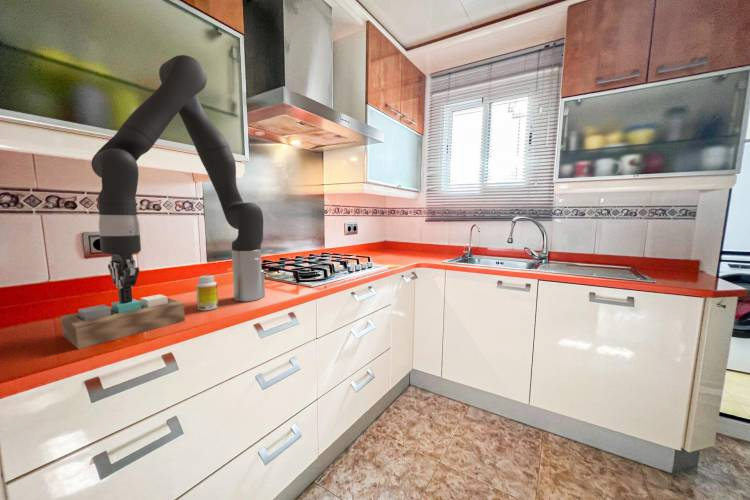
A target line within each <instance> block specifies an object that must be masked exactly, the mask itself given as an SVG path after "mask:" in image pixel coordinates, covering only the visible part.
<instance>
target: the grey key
mask: <svg viewBox="0 0 750 500" xmlns="http://www.w3.org/2000/svg"><path fill="white" fill-rule="evenodd" d="M110 307H111V306H108V305H106V304H99V305H94V306H89V307H83V308H78V313H79V319H81V320H82V321H86V320H91V319H96V318H100V317H105V316H110V315H111V309H110Z"/></svg>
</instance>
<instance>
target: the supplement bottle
mask: <svg viewBox="0 0 750 500" xmlns="http://www.w3.org/2000/svg"><path fill="white" fill-rule="evenodd" d="M198 281H199V282H197V283H196V287H195V288H196V301H197V302H196V303H197V310H199V311H201V312H202V311H204V312H205V311H211V310H215V309H217V308H218V307H219V298H218V294H219V293H218V282H217V281H215V275H212V274H206V275H205V274H204V275H201V276H200V275H199V278H198Z"/></svg>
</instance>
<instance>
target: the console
mask: <svg viewBox="0 0 750 500" xmlns="http://www.w3.org/2000/svg"><path fill="white" fill-rule="evenodd" d="M184 305H185V304H184V302H181V301H179V300H175V299H173V298H169V297H168V303H167V304H162V305H157V306H152V307H148V308H147V307H144V306H142V305H141V309H138V310H133V311H129V312H124V313H119V314H117V313H115V312H113V311H112V305H111V306H109V307H110V309H111V315H110V316H105V317H100V318H96V319H91V320H86V321H82V320H81V319H79V312H76V313H75V312H74V313H71V314H66V315H61V316H60V318H61V319H60V321H61V328H62V337H63V338H64V339H65V340H67V341H68V342H69V343H70V344H72V345H73V347H76V349H78V350H81V349H85V348H88V347H92V346H96V345H100V344H103V343H107V342H111V341H115V340H118V339H122V338H126V337H129V336H134V335H137V334H140V333H144V332H145V333H146V332H149V331H152V330H156V329H159V328H163V327H167V326H170V325H174V324H178V323H182V322H185V320H186V319H185V318H186V317H185V306H184Z"/></svg>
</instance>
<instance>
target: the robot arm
mask: <svg viewBox="0 0 750 500" xmlns="http://www.w3.org/2000/svg"><path fill="white" fill-rule="evenodd" d="M158 75H159V76H158V77H159V80H160V82H161V84H160V85H159V87H158V88H157V89H156V90H155V91H154V92H153V93H152V94H151V95H150V96H149V97H148V98H147V99H145V100H144V101H143V102H142V103H141V104H140V105H139V106H138V107H137V108H136V109H134V111H133V112H132V113H131V114H130V115H129V116H128V117H127V119H126V120H124V122H123V123H122V124H121V126H119V129H118V130H117V132H116V133H115V134H114V135H113V136H112V137H111V138H110V139H109V140H108V141H107V142H106V143H105V144H104V145H103V146H101V148H100V149H98V151H97V152H96V153H95V154H94V155H93V157H92V159H91V161H90V162H91V163H90V164H91V169H92V171H93V173H95V175H96V176H98V178H101V190H100V192H98V194H97V195H98V197H97V199H98V200H97V203H98V214H99V216H98V219H99V220H98V230H99V231H98V233H99V243H100V244H99V247H100V253H101V254H103V255H111V259H110V261H109V264H107V268H108V271H109V274H110V276H111V280H112V284H113V285H115V287H116V288H117V291H118V302H120V303H128V302H132V299H133V293H132V288H133V287H135V286H136V284H137V280H138V278H139V273H140V268H139V267H138V266H136V260H134V254H137V253H140V252H141V251H142V245H141V233H140V232H141V231H140V223H139V217H138V209H137V208H138V207H137V198H136V195H137V192H138V191H137V190H138V185H139V184H138V183H139V167H138V163H137V161H138V160H139V159H140V157H142V156H143V155H145V154H146V153H148V152H149V151H150V150H152V147H153V146H154V145H155V143H156V142H157V141H158V139H160V137H161V136H162V134H163V133H164V132H165V130H166V129H167V127H168V126H169V125H170V123H171V122H172V120H173V119H174V118H175V116H176V115H177V114H179V117H180V119H182V122H183V124H184V126H185V129H186V131H187V134H188V135H189V137H190V140H191V141H192V143H193V145H194V147H195V150H196V153H197V155H198V157H199V158H200V159H199V160H200V161H201V163H202V165H203V168H204V169H205V170H206V173H207V176H208V178H209V179H210V181H211V184H212V187H213V188H214V190H215V192H216V195H217V197H218V200H219V204H220V206H221V208H222V212H223V215H224V217H225V219H226V222H227V224H228V225H229V226H230V227H231V228H233V229H235V230H237V237H236V239H235V240H233V241H232V242H231V261H232V283H233V300H234V301H235V302H252V301H256V300H261V299H262V298H263V297H266V293H265V292H266V290H265V289H266V287H265V286H266V285H265V270H263V268H262V243H263V240H264V214H263V210H262V209H261V207H260V206H259V205H258V204H256V203H253V202H244V200H243V198H242V196H241V194H240V192H239V190H238V189H239V188H238V185H237V165H236V161H235V160H236V159H235V157H234V155H233V153H232V150H231V148H230V147H231V146H230V145H229V142H228V141H227V139H226V138H225V136H224V135H223V133H222V132H221V131H220V130H219V129H218V128H217V126H215V124H214V123H213V121H211V120H210V119H209V117H208V116H207V113H205V110H204V108H203V107H202V104H201V101H200V99H199V96H198V94H199V93H201V92H202V91H203V90H204V89H205V87H206V85H207V81H208V79H207V72H206V70H205V68H204V67H203V65H202V64H201V62H199V61H198V60H196V59H195V58H194V57H192V56H189V55H187V54H186V55H185V54H181V55H176V56H173V57H171V58H170V59H168V60H166V61H165V62H163V63H162V64H161V65H160V67H159V70H158Z"/></svg>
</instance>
